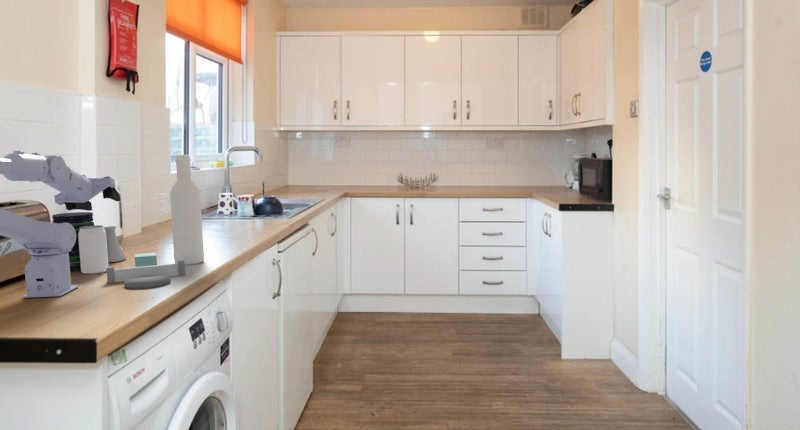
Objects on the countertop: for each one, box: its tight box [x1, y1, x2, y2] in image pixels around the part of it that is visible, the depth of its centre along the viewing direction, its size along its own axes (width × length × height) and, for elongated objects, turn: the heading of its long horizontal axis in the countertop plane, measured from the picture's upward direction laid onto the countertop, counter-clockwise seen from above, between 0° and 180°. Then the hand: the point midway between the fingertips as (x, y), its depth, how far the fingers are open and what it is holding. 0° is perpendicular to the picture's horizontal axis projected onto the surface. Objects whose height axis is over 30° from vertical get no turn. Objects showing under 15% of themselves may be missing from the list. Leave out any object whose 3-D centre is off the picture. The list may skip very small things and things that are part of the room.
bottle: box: [169, 154, 205, 266], centre depth 168 cm, size 8×8×30 cm
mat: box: [123, 275, 172, 290], centre depth 142 cm, size 10×10×1 cm
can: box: [78, 224, 109, 275], centre depth 158 cm, size 6×6×12 cm
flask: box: [103, 225, 127, 263], centre depth 175 cm, size 7×7×10 cm
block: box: [134, 252, 158, 267], centre depth 154 cm, size 5×5×5 cm
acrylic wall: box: [106, 260, 186, 284], centre depth 148 cm, size 18×2×4 cm, turn 114°
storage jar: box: [51, 211, 95, 273], centre depth 163 cm, size 10×10×15 cm
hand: (104, 202), depth 155 cm, fingers open, 7 cm apart
